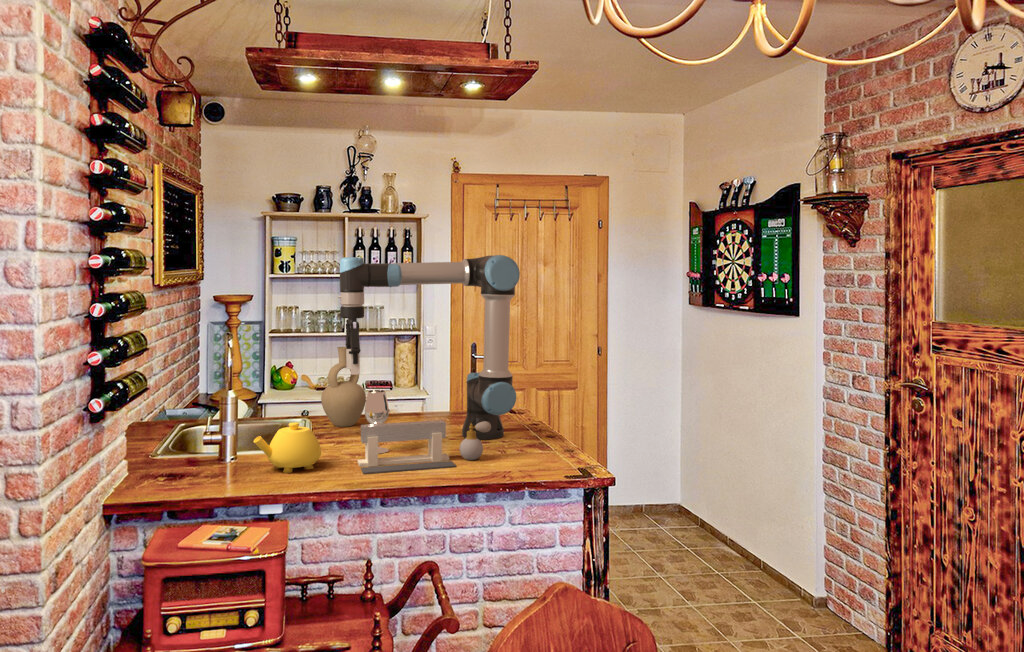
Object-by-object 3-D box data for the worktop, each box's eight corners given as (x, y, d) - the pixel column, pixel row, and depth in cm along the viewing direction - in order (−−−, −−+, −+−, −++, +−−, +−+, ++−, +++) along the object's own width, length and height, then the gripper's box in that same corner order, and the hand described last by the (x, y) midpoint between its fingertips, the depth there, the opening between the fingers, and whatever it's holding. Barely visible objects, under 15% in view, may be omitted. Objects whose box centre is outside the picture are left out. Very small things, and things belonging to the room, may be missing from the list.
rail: (443, 435, 251) (443, 420, 250) (445, 438, 247) (445, 422, 247) (360, 440, 243) (360, 424, 242) (362, 443, 239) (362, 427, 239)
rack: (445, 456, 253) (445, 428, 252) (449, 460, 247) (449, 432, 246) (357, 462, 244) (357, 433, 244) (359, 467, 238) (359, 438, 238)
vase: (345, 419, 311) (344, 344, 309) (375, 424, 302) (374, 347, 299) (312, 426, 298) (311, 347, 296) (342, 432, 288) (341, 350, 286)
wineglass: (384, 454, 254) (383, 393, 253) (361, 453, 256) (360, 392, 254) (392, 449, 262) (392, 389, 260) (370, 447, 264) (369, 388, 262)
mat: (451, 462, 245) (451, 460, 245) (456, 467, 239) (456, 465, 239) (360, 469, 236) (360, 467, 236) (363, 474, 230) (363, 472, 230)
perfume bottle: (454, 458, 250) (454, 421, 249) (480, 454, 256) (480, 417, 255) (468, 463, 244) (468, 425, 243) (493, 458, 250) (493, 421, 249)
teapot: (262, 479, 224) (261, 432, 223) (246, 468, 237) (245, 423, 236) (329, 469, 236) (328, 424, 235) (309, 459, 248) (309, 416, 247)
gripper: (336, 303, 262) (337, 366, 264) (343, 307, 238) (344, 377, 240) (359, 303, 264) (360, 366, 266) (368, 307, 240) (369, 376, 242)
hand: (353, 371), depth 253 cm, fingers open, 13 cm apart
